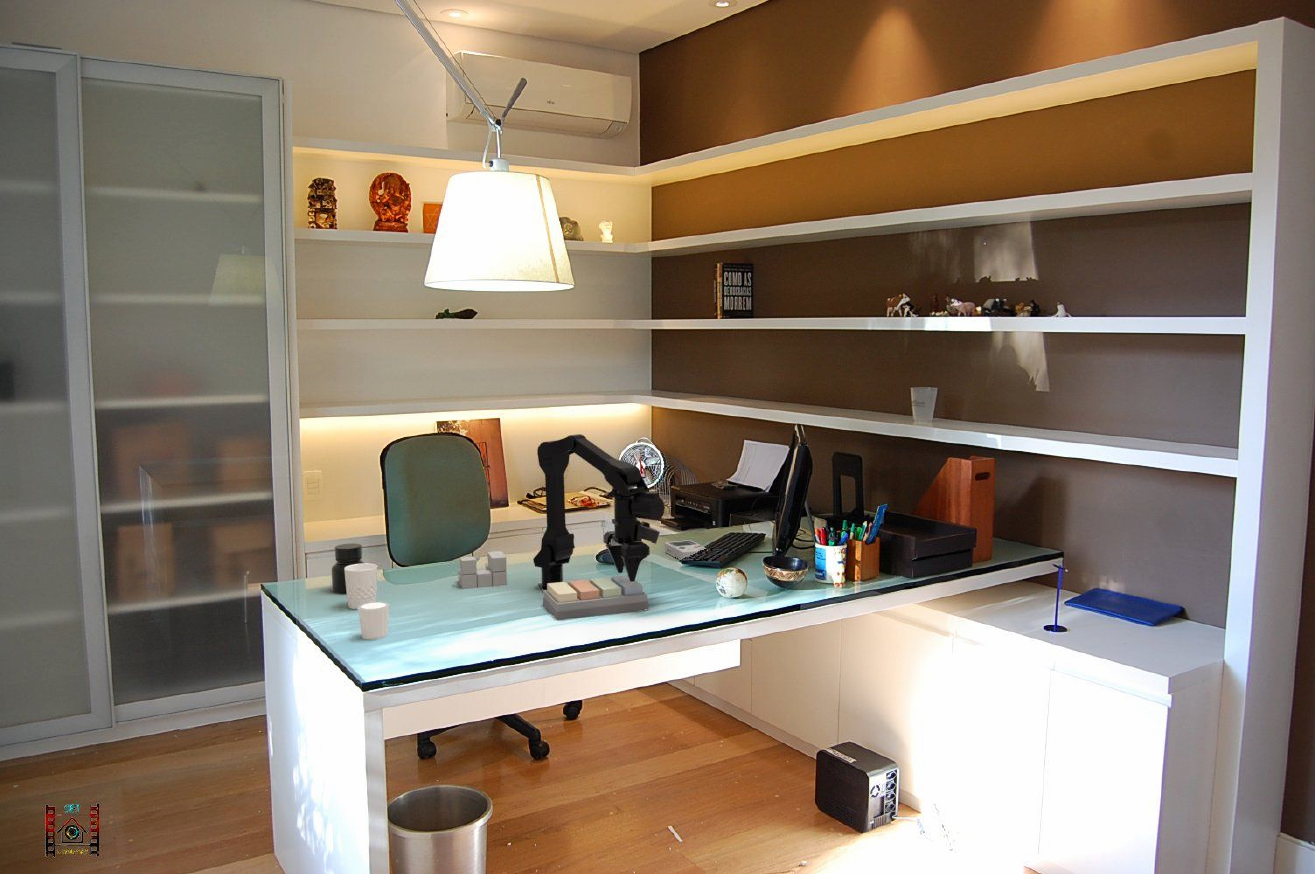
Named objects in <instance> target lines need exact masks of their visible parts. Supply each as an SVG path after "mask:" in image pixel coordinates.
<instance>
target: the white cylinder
mask: <svg viewBox="0 0 1315 874" xmlns="http://www.w3.org/2000/svg"><path fill="white" fill-rule="evenodd" d="M357 610H358V618H359V624H360V625H359V626H360V632H361V637H362V638H363V639H365V640H378V639H379V640H380V639H382V638H385V637H387V636H388V632H389V631H388V630H389V613H390V603H389V602H386V601H376V602H369V603H364V604H361V605H360V606H358V609H357Z"/></svg>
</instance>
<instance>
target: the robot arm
mask: <svg viewBox="0 0 1315 874" xmlns="http://www.w3.org/2000/svg"><path fill="white" fill-rule="evenodd" d="M536 454H537V459H538V460H537V461H538V465H539V467H540V469H541V470H542V472H543V474H544V478H545V479H544V480H545V483H544V485H545V506H546V507H545V509H546V530H545V531H544V534H543V535H542V538H541V542H540V545H541V546H540V550H539V551H538V553H537V554H536V555H535V556H534V557H533V564H534V567H536V568H540V569H541V582H540V583H538V584H537V585H538V587H539V588H540V589H541V590H542V591H543V590H547V583H557V582H564V567H563V565H564V564H569V563H570V560H571V556H572V555H573V553H574V549H576V547H575V542H574V541H575V535H574V533H570V532H569V530H568V528H567V525H566V506H565V505H566V498H565V472H566V470H567V468H568V465H569V463H570V455H573V454H575V455H577V456H578V457H580V458H581V459H582V460H584V461H585V462H586V463H588V464H590V466H592V467H594V468H595V469H597V471H599V472H600V473H602V475H603V476H604V479H605V482H606V483H608V485H609V486H611V487H612V489H611V491H609V492H608V493H607V495H606V496H607V497H608V498H613V501H614V503H613V505H614V506H613V511H614V512H613V515H614V518H612V519H611V523H612V524H613V525H614V530H611V531H606V532H605V533H604V534H603V544H605V547H606V549H607V551H608V553H609V555H610V557H611V560H612V562H613V564H614V566H615V569H616V571H617V573H618V574H623V573H624V567H625V571H626V573H627V575H628V577H629V580H630V581H631V582H633V581H636V577H637V573H638V571H639V566H640V564H641V562H642V561H643V560H644V559H646V558H647V557H648V556H650V554H651V549H650V546H649V545H648V544H647V543H645V542H644V541H648V542H651V543H652V544H655V545H656V544H657V542H658V539H659V536H660V533H661V531H659V530H657V529H656V528H652V527H651V524H650V523H649V522H647V521H644V520H649V521H660V520H661V519H662V518H663V516H664V514H665V509H666V507H665V502H664V501H663V499H662V498H661V497H660V493H659V492H658V491H657V492H656V491H654V492H650V489H649V487H648V485H647V483H646V482H645V480H644V478H643V476H642V475H641V469H639V468H638V467H637V465H634V464H632V463H630V462H627V461H624V460H620V459H617V458H615V457H614V456H612V455H610V454H609V453H607V452H606V451H604V450H603V449H602V448H600V447H599V446H598V445H596V444H595V443H593V442H591V441H590V440H588V439H587V438H586V436H585V435H583V434H578V433H577V434H571V435H567V436H566V437H563V438H561V439H558V440H556V439H555V440H550V441H543V442H541V443H540V444H539V445H538V447H537V453H536ZM639 519H641V520H642V519H643V520H642V521H640V520H639ZM642 540H644V541H642ZM635 541H637V542H635ZM638 541H640V542H638Z"/></svg>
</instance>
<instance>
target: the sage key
mask: <svg viewBox="0 0 1315 874" xmlns="http://www.w3.org/2000/svg"><path fill="white" fill-rule="evenodd" d="M589 582H590V583H591V584H592V585H594V586H595V587H596V588H597V589H598V590H599V596H600V597H602V598H610V597H619V596H621V587H619V586H618V585H617V584H615V583H614V582H613V581H611V578H609V577H600V578H599V577H598V578H590V579H589Z"/></svg>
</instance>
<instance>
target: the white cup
mask: <svg viewBox="0 0 1315 874" xmlns="http://www.w3.org/2000/svg"><path fill="white" fill-rule="evenodd" d="M344 571H345V581H346V592H347V594H346V597H347V603H348V604H347V605H348V609H352V610H358V606H360V605H361V604H364V603H369V602H377V594H378V593H377V591H378V565H377V564H374V563H365V562H364V563H363V564H354V565H349V566H347V567H345V568H344Z"/></svg>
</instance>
